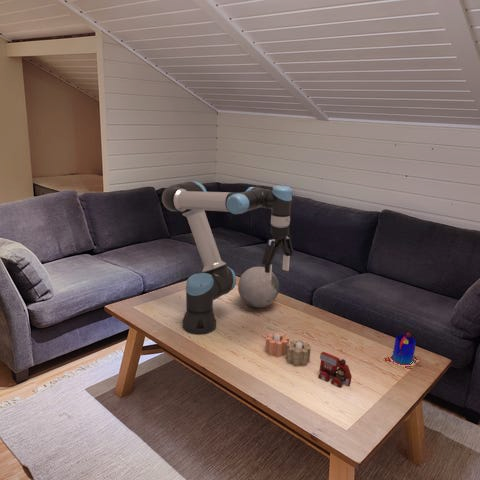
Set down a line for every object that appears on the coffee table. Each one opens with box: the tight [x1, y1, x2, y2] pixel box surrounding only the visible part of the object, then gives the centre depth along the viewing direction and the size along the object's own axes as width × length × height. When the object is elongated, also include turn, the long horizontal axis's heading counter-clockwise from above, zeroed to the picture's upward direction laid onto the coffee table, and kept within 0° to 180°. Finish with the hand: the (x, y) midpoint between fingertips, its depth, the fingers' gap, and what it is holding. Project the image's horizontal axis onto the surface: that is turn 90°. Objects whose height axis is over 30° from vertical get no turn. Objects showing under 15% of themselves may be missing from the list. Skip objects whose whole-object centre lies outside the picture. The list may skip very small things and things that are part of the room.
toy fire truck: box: [317, 351, 352, 389], centre depth 160 cm, size 7×12×10 cm, turn 51°
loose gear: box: [264, 332, 290, 358], centre depth 177 cm, size 9×9×6 cm
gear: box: [285, 339, 312, 367], centre depth 171 cm, size 9×9×6 cm
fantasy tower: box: [383, 332, 419, 369], centre depth 175 cm, size 12×12×12 cm
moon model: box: [237, 266, 280, 309], centre depth 216 cm, size 20×20×20 cm
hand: (276, 274), depth 183 cm, fingers open, 13 cm apart
